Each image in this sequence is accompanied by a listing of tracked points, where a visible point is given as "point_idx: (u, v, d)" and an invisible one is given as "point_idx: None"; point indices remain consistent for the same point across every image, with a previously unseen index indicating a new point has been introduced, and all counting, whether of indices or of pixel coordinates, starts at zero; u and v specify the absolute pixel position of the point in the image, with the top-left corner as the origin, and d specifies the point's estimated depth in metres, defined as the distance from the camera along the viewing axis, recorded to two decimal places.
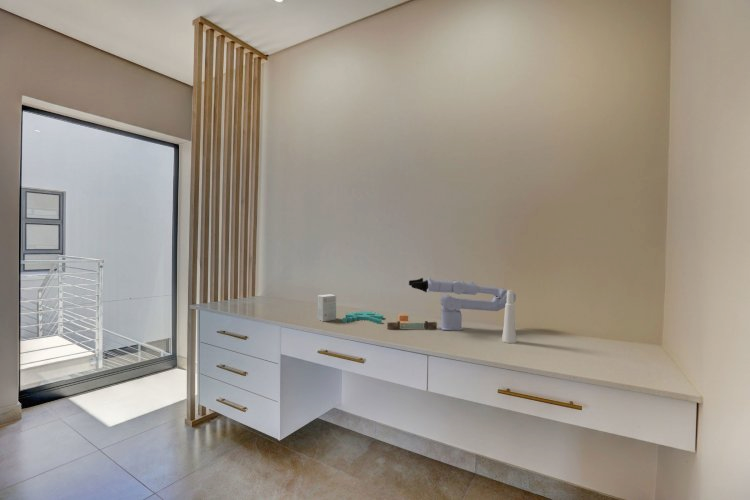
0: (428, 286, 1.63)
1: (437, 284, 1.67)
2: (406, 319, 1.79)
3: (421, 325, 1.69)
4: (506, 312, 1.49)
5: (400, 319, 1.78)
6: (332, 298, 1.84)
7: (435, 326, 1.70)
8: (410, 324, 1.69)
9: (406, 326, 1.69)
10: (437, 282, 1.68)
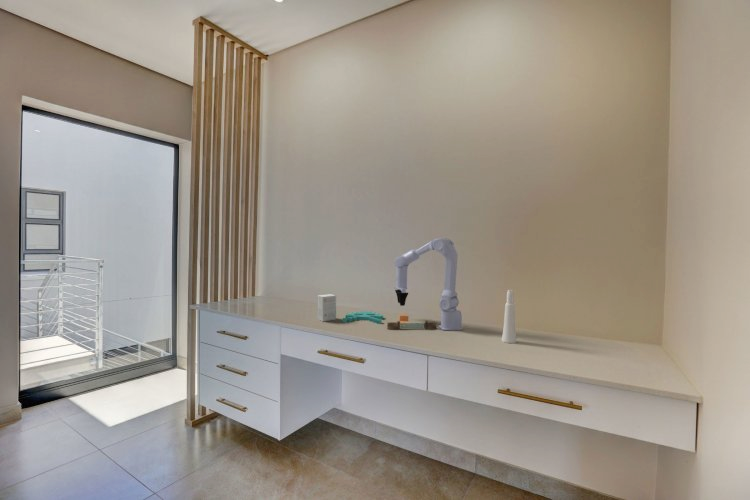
0: (402, 292, 1.80)
1: (400, 281, 1.84)
2: (406, 319, 1.78)
3: (421, 325, 1.69)
4: (506, 312, 1.49)
5: (400, 319, 1.78)
6: (332, 298, 1.84)
7: (435, 326, 1.70)
8: (410, 324, 1.69)
9: (406, 326, 1.69)
10: (398, 281, 1.84)
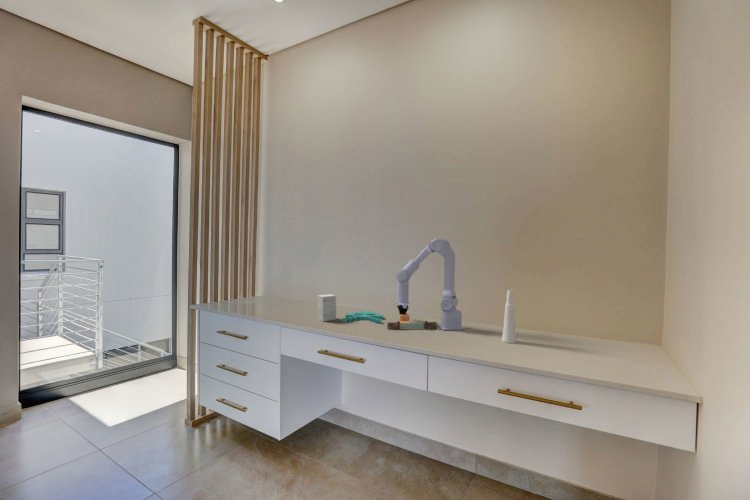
0: (404, 308, 1.75)
1: (401, 296, 1.79)
2: (407, 319, 1.77)
3: (421, 325, 1.69)
4: (506, 312, 1.49)
5: (401, 319, 1.77)
6: (332, 298, 1.84)
7: (435, 326, 1.70)
8: (410, 324, 1.69)
9: (406, 326, 1.69)
10: (399, 295, 1.80)
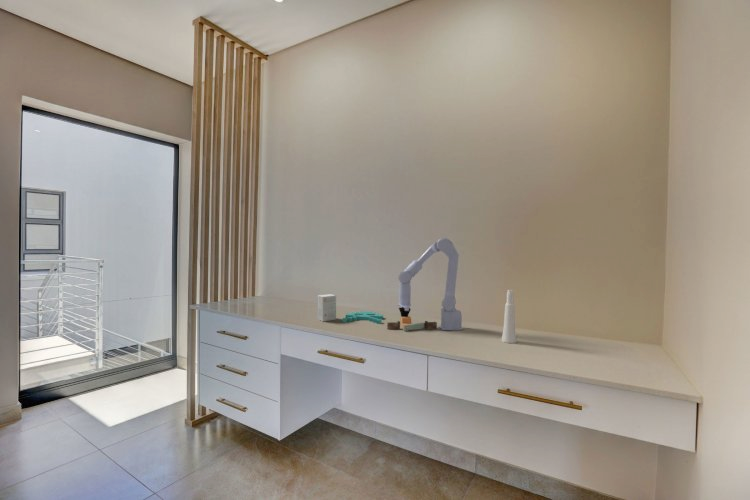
0: None
1: (403, 298, 1.73)
2: (409, 322, 1.72)
3: (422, 325, 1.69)
4: (506, 312, 1.49)
5: (403, 322, 1.72)
6: (332, 298, 1.84)
7: (435, 326, 1.70)
8: (412, 325, 1.66)
9: (409, 328, 1.66)
10: (401, 297, 1.74)
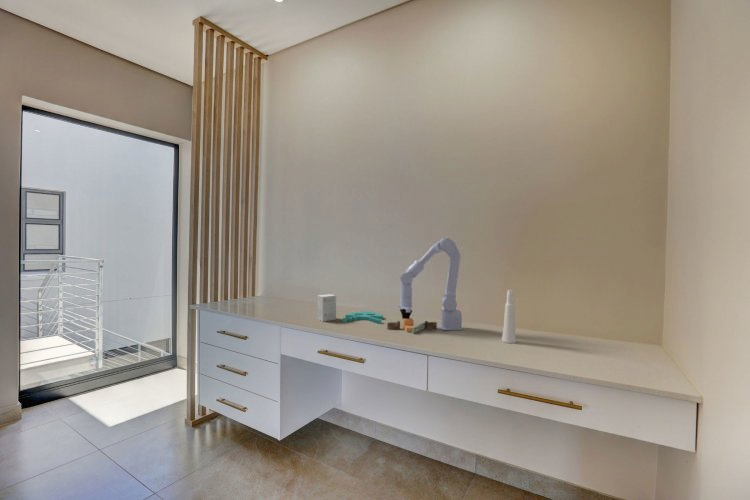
0: (407, 312, 1.66)
1: (405, 299, 1.70)
2: (411, 324, 1.68)
3: (423, 326, 1.68)
4: (506, 312, 1.49)
5: (405, 324, 1.68)
6: (332, 298, 1.84)
7: (435, 326, 1.70)
8: (418, 327, 1.64)
9: None
10: (402, 299, 1.70)
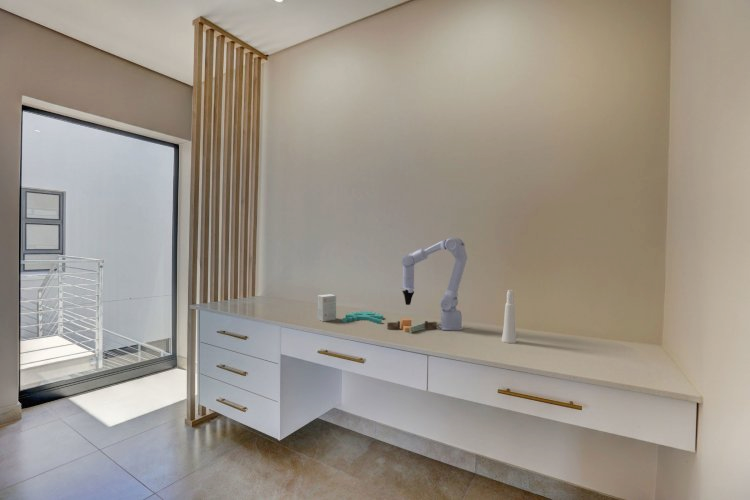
0: (409, 292, 1.74)
1: (407, 280, 1.78)
2: (409, 324, 1.68)
3: (423, 325, 1.68)
4: (506, 312, 1.49)
5: (403, 324, 1.68)
6: (332, 298, 1.84)
7: (435, 326, 1.70)
8: (416, 326, 1.64)
9: None
10: (405, 280, 1.78)
